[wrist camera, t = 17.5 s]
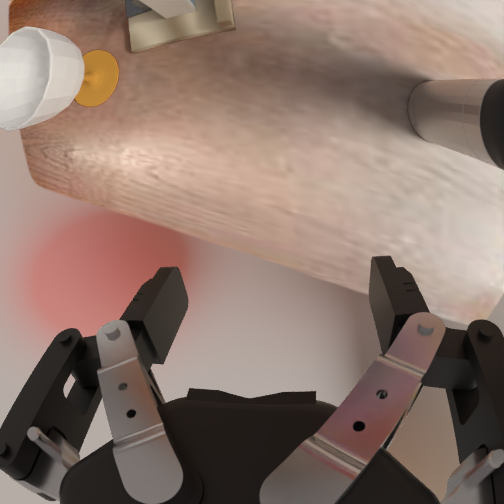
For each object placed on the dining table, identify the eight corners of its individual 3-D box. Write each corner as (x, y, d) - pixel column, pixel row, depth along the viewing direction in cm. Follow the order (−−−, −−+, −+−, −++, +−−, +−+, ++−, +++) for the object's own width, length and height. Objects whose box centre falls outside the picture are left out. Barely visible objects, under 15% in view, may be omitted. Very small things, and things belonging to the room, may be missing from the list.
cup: (122, 30, 32) (49, 6, 17) (132, 103, 37) (58, 109, 22) (60, 58, 34) (-19, 56, 18) (69, 124, 39) (-9, 145, 24)
